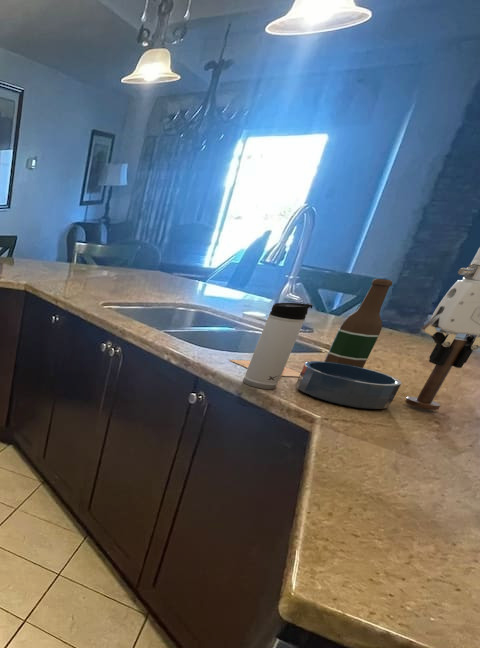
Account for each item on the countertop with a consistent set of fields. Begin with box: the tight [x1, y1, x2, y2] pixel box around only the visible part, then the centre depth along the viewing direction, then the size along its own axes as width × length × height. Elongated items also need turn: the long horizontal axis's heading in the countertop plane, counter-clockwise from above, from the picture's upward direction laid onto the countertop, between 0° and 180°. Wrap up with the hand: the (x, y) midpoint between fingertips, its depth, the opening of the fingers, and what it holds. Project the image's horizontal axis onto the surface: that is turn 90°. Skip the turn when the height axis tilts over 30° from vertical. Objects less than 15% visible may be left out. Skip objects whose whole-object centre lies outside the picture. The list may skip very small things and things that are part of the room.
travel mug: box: [242, 302, 313, 390], centre depth 113 cm, size 6×7×20 cm
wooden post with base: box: [404, 337, 467, 411], centre depth 104 cm, size 5×5×15 cm
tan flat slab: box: [229, 359, 301, 377], centre depth 128 cm, size 12×12×4 cm
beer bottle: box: [324, 278, 393, 368], centre depth 124 cm, size 8×8×24 cm
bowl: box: [294, 360, 402, 410], centre depth 110 cm, size 16×16×6 cm
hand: (444, 364), depth 103 cm, fingers closed on wooden post with base
